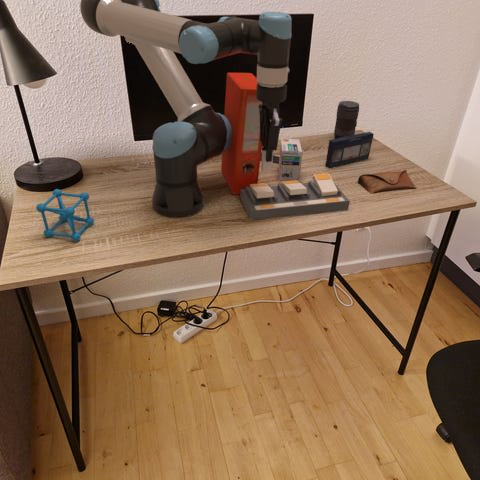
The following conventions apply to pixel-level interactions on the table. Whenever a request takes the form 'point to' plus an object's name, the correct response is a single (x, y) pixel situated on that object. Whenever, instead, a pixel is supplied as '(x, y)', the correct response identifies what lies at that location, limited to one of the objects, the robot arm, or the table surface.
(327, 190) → the switch right
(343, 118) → the camera lens
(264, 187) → the switch left
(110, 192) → the table surface
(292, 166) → the light bulb box
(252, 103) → the file binder
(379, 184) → the sunglasses case
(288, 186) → the switch middle
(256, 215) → the switch unit
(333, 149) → the vhs cassette tape
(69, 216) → the molecular structure
